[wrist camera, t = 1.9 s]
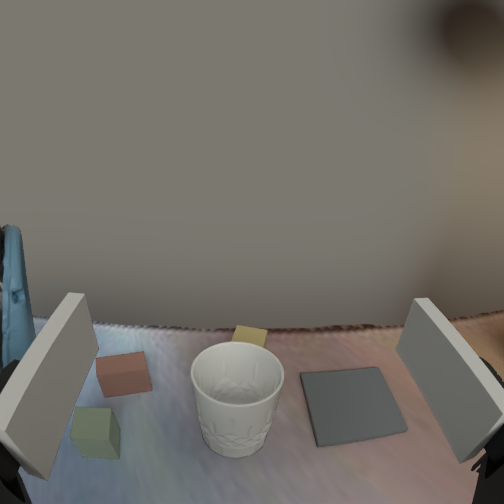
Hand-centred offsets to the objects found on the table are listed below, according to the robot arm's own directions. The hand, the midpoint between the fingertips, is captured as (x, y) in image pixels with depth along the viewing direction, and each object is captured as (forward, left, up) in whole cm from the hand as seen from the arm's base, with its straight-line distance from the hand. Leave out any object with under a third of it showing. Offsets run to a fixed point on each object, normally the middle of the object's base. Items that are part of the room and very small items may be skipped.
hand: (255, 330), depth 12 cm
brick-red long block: (-13, +16, -22) cm, 30 cm away
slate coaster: (+14, +13, -22) cm, 29 cm away
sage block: (-14, +7, -22) cm, 27 cm away
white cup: (0, +10, -22) cm, 24 cm away
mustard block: (+2, +22, -22) cm, 31 cm away
